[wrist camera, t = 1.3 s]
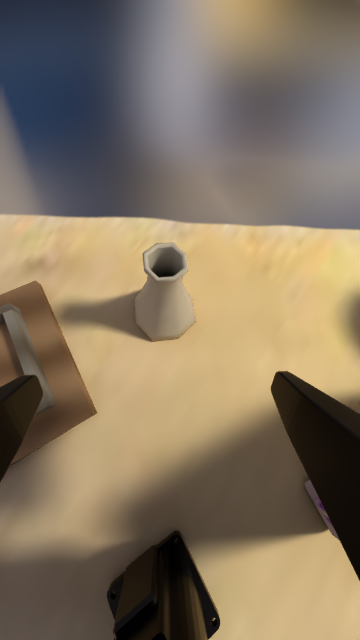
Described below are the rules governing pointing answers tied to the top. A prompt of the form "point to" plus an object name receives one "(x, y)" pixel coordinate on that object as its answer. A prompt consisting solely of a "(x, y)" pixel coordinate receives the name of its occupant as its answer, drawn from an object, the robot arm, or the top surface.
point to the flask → (164, 294)
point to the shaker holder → (41, 365)
